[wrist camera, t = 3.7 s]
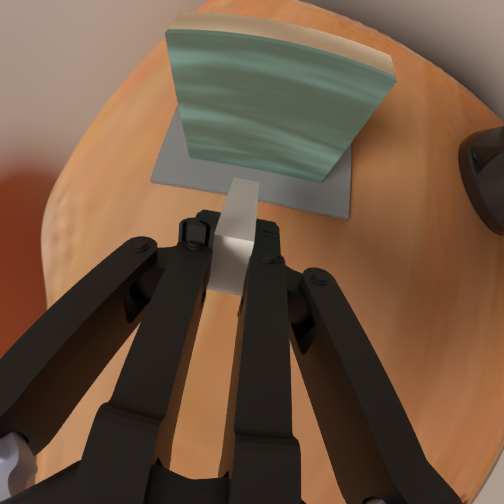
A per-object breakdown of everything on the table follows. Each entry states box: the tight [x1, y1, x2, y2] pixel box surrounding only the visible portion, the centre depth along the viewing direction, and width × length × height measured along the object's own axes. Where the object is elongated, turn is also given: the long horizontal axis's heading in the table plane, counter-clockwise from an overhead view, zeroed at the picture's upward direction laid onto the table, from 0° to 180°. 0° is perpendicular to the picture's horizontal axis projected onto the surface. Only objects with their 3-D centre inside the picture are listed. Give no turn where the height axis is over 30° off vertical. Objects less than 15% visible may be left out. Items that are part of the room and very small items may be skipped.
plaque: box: [165, 12, 397, 183], centre depth 18 cm, size 2×12×14 cm, turn 80°
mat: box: [150, 106, 352, 220], centre depth 26 cm, size 22×18×1 cm
